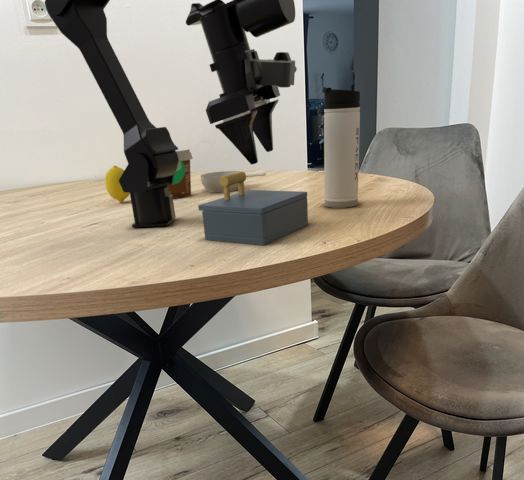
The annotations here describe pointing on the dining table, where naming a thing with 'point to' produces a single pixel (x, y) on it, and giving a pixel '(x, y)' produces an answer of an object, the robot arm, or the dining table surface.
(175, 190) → the food container
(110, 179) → the lemon
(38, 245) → the dining table surface
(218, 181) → the saucepan
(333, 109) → the travel mug
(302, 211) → the box
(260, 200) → the lid
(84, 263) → the dining table surface
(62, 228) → the dining table surface
